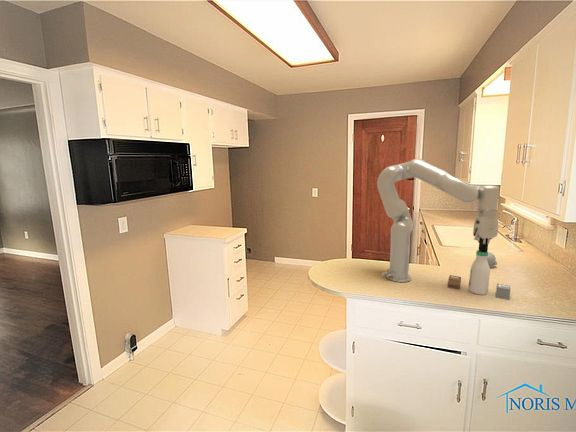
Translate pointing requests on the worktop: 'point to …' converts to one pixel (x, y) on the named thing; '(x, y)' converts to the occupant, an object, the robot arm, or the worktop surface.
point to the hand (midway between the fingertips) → (482, 251)
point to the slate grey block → (503, 291)
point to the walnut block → (454, 282)
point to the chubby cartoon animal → (491, 260)
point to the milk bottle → (479, 274)
